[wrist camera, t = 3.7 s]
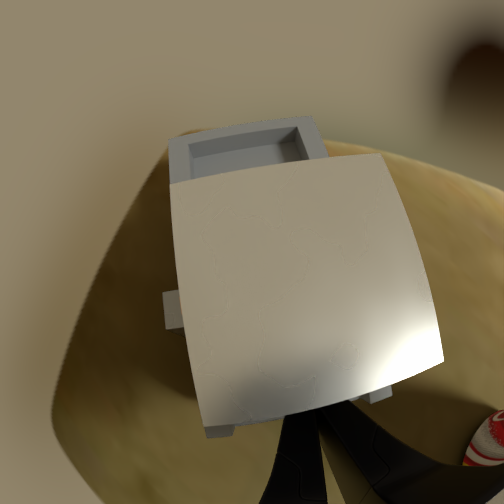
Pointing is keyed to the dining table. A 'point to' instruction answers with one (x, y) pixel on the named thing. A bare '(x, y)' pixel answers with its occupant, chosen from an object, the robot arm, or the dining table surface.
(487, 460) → the soda can
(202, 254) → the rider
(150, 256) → the dining table surface
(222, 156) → the grey tray
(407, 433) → the dining table surface
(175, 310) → the fulcrum
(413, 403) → the dining table surface
